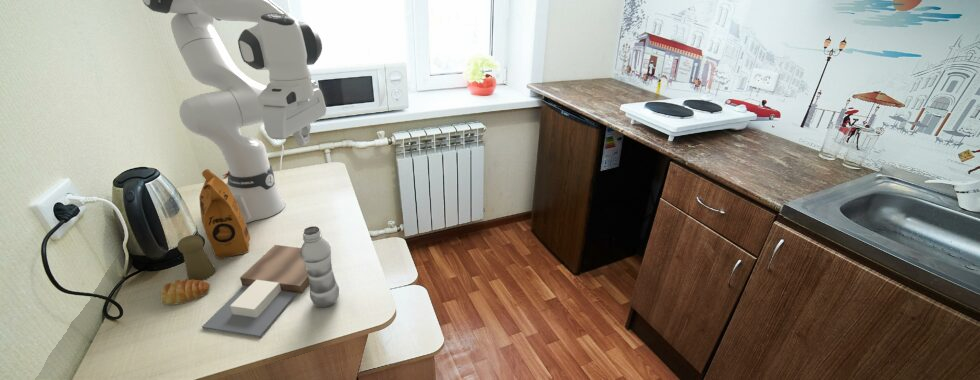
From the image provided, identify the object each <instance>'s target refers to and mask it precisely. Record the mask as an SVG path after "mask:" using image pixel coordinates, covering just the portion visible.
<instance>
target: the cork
mask: <svg viewBox="0 0 980 380" xmlns="http://www.w3.org/2000/svg"><path fill="white" fill-rule="evenodd" d="M203 247H204V240H203V238H202V237H200V235H197V234H196V235H194V234H193V235H191V234H190V235H187V236H185V237H183V238H180V239H179V240H178V242H177V250H178V251H179V252H180V253H181V254H182V255H183V260H184V264H185V270H186V274H187V280H192V279H194V280H202V281H206V280H208V279H210V278H212V276H214V275H215V274H216V272H217V270H216V267H215V265H214V264H213V263H212V260H211V259H210V257H209V255H208V254H207V252H206V251H205V249H204V248H203Z"/></svg>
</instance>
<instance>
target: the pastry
mask: <svg viewBox="0 0 980 380" xmlns="http://www.w3.org/2000/svg"><path fill="white" fill-rule="evenodd" d="M210 284H211V283H210V282H208V281H206V280H203V281H202V280H194V279H192V280H189V279H188V278H183V279H182V280H180V279H175V280H174V281H173V282H168V283H165V284H164V285H163V287H162V288H161V293H160V294H161V295H160V296H161V297H160V299H161V303H162V304H163V305H168V306H174V305H182V304H185V303H188V302H191V301H195V300H198V299H200V298H202V297H204V296H206V295H208V293H209V292H210V290H211V285H210Z"/></svg>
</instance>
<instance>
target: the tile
mask: <svg viewBox="0 0 980 380" xmlns="http://www.w3.org/2000/svg"><path fill="white" fill-rule="evenodd" d="M280 292H281V288H280V284H279V283H277V282H270V281H263V280H256V281H255V282H254V283H252V284H251V285H250V286H249V287H248V288H247V289H246V290H245V291H244V292H243V293H242V294H241V295H240V296H239V297H238V298H237V299H236V300H235V301H234V302H233V303H232V304H231V305H230V307H231V310H232V313H233V314H236V315H242V316H249V317H255V318H257V317H258V316H259V315H260V314H261V313H262V312H263V311H264V310H265V308H266V307H267V306H268V305H269V304H270V303H271V302H272V301H273V299H274V298H275V297H276V296H277V295H278V294H279V293H280Z"/></svg>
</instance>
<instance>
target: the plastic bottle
mask: <svg viewBox="0 0 980 380" xmlns="http://www.w3.org/2000/svg"><path fill="white" fill-rule="evenodd" d="M301 233H302V240H303V241H304V242H303V244H301V247H300V248H301V251H300V255H301V258H302V260H303V263H304V265H305V267H306V270H307V273H308V277H309V284H310V285H309V298H310V300H311V302H312V304H313V305H315V306H317V307H319V308H326V307H327V308H328V307H330V306H331V305H334V303H336V302H337V300H338V299H339V295H340V288H339V285H338V282H337V281H336V278H335V274H334V272H333V267H332V249H331V248H332V247H331V246H330V244H329V242H328V241H327V240H326V239H325V238H323V235H322V232H321V229H320V227H319V226H316V225H315V226H314V225H313V226H308V227H306V228H304V229H303V230H302V232H301Z"/></svg>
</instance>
